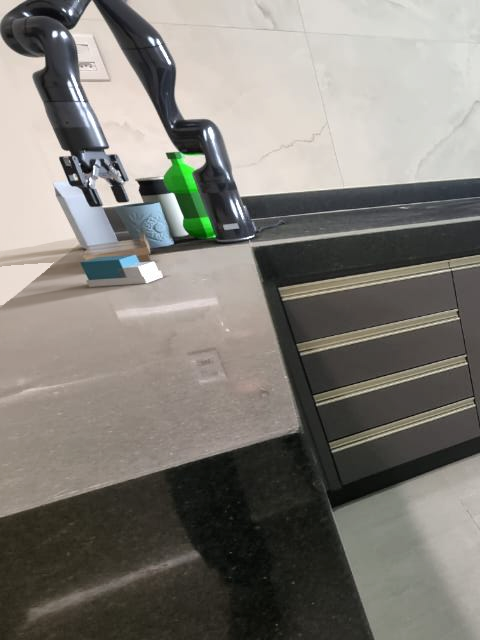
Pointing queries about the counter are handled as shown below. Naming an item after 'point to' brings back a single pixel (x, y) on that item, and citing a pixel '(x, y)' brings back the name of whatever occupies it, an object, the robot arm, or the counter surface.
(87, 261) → the two-tone teal block
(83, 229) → the milk carton
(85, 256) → the wooden tray
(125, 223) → the blue embossed mug
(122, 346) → the counter surface
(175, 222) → the travel mug
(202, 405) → the counter surface
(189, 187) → the plastic bottle
